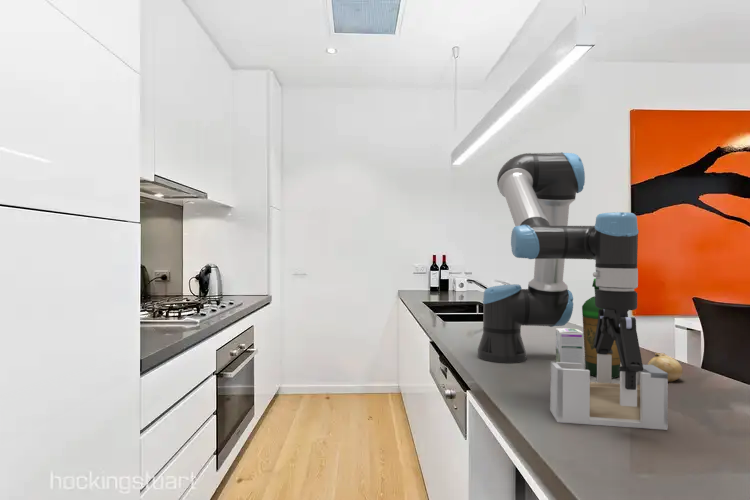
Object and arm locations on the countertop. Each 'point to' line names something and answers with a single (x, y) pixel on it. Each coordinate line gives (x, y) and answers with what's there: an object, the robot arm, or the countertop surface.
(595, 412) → the tan wooden block
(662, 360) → the tan round lump
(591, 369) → the bottle
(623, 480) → the countertop surface
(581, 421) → the white open holder
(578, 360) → the syrup box
